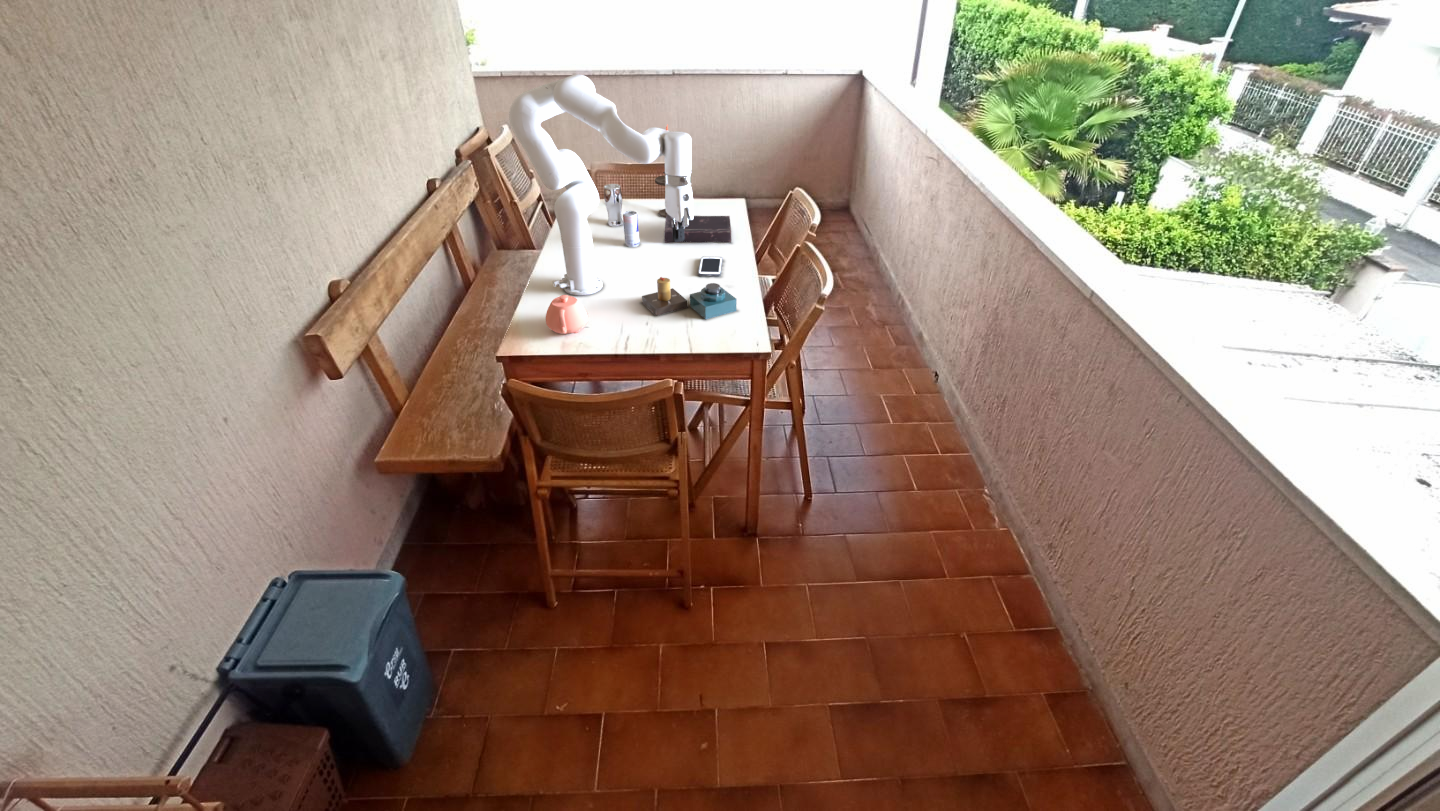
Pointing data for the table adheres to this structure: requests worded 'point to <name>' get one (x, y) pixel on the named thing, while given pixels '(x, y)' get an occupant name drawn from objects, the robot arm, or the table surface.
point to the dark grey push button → (712, 289)
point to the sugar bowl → (566, 315)
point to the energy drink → (631, 228)
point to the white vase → (613, 204)
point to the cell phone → (710, 266)
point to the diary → (702, 230)
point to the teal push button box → (712, 303)
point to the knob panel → (664, 303)
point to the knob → (664, 289)
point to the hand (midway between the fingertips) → (678, 240)
